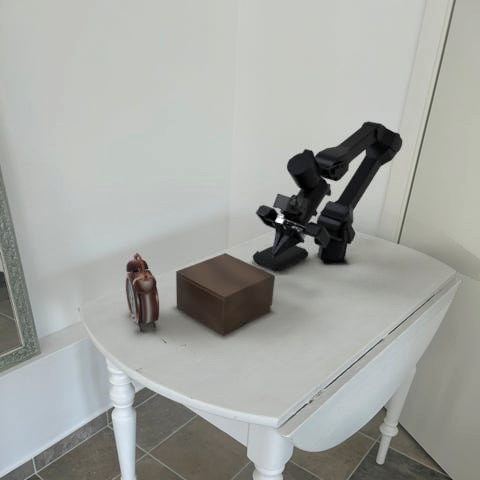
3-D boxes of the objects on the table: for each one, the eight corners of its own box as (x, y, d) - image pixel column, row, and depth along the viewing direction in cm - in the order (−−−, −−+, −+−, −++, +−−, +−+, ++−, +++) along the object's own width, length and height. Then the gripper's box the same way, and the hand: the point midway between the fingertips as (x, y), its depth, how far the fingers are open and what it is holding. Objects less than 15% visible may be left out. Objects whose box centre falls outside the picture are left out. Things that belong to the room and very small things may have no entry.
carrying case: (279, 247, 137) (246, 262, 127) (280, 237, 135) (246, 251, 126) (310, 259, 131) (278, 275, 122) (312, 248, 130) (279, 264, 120)
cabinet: (224, 288, 114) (225, 252, 110) (270, 311, 106) (274, 275, 101) (176, 308, 105) (175, 271, 100) (223, 336, 97) (224, 297, 92)
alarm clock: (126, 311, 103) (121, 246, 95) (149, 307, 105) (145, 244, 97) (138, 338, 95) (133, 269, 87) (162, 334, 96) (159, 266, 88)
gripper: (263, 170, 111) (228, 226, 110) (330, 190, 100) (291, 252, 99) (282, 197, 120) (249, 249, 119) (345, 218, 109) (309, 275, 108)
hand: (273, 256), depth 111 cm, fingers closed
